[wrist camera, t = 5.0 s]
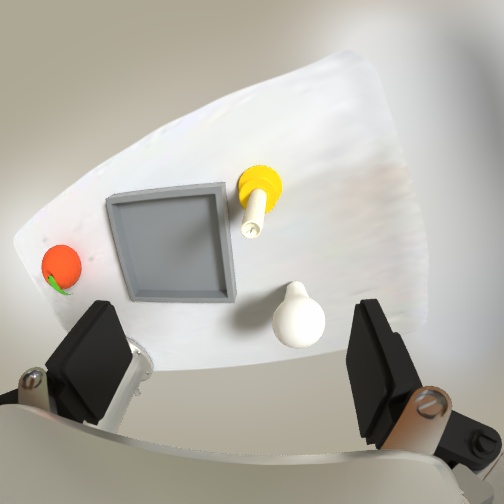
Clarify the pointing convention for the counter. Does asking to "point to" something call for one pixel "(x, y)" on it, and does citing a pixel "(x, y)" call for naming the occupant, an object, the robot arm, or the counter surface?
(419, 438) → the robot arm
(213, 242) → the tray
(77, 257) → the clementine
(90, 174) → the counter surface
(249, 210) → the candle
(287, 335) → the lightbulb
